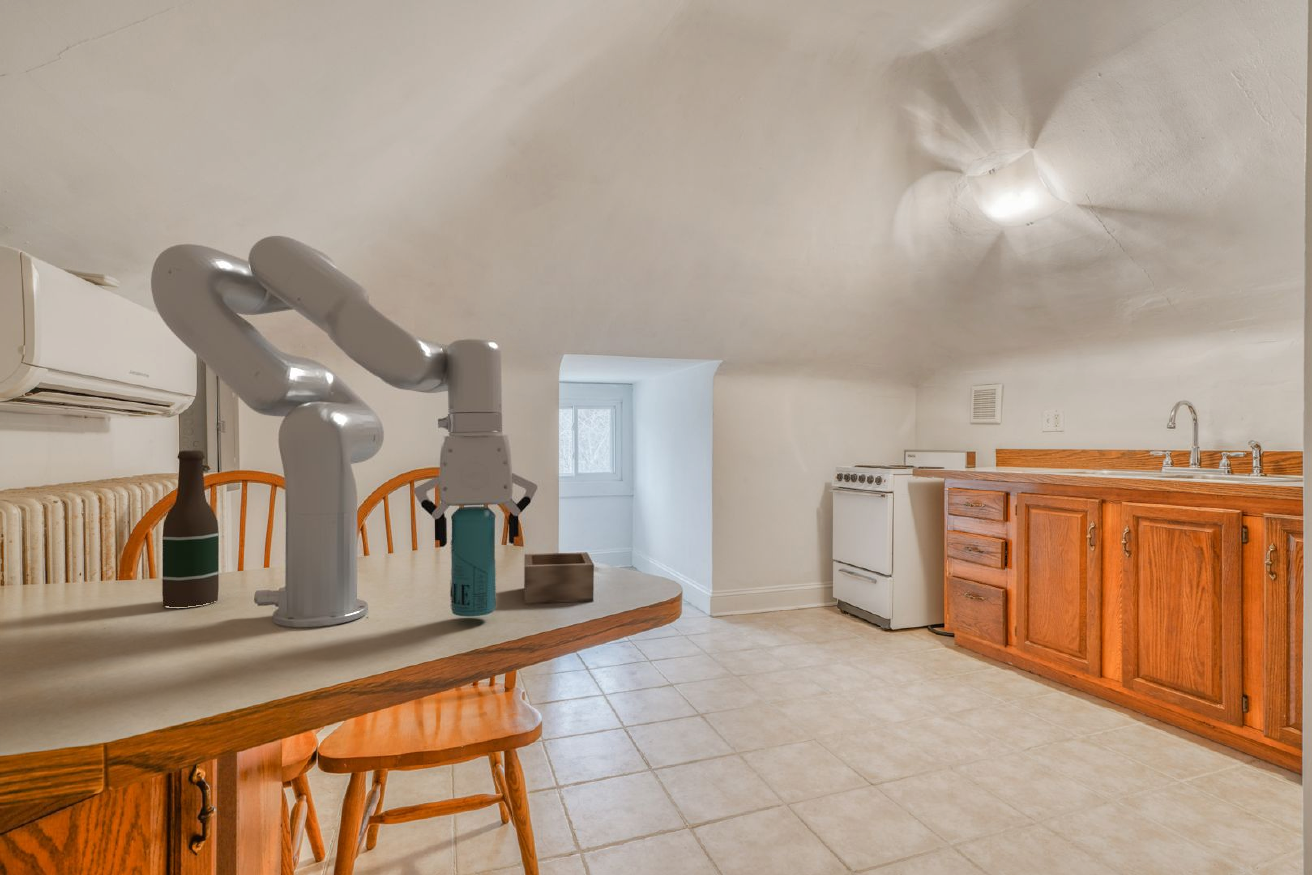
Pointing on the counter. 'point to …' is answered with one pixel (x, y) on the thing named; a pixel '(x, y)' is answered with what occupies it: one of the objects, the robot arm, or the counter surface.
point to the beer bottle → (190, 540)
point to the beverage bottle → (473, 561)
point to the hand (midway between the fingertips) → (477, 543)
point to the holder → (558, 577)
